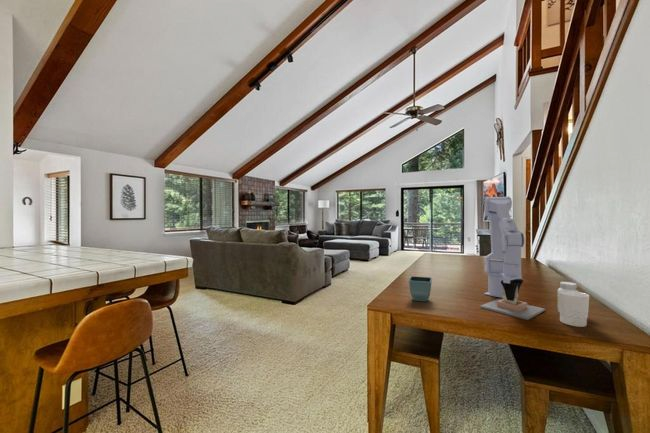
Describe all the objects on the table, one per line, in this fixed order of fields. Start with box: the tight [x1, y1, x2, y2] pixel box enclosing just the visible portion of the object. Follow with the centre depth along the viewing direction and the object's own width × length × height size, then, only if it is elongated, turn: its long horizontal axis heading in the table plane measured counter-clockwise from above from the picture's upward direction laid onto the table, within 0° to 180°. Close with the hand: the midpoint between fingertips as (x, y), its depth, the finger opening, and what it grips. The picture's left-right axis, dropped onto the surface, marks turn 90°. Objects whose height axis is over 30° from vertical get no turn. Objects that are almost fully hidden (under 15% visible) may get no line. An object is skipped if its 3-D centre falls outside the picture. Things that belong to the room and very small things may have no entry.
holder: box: [480, 298, 546, 321], centre depth 111 cm, size 16×16×3 cm
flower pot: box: [408, 275, 433, 303], centre depth 123 cm, size 9×9×9 cm
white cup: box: [557, 290, 590, 328], centre depth 97 cm, size 8×8×10 cm
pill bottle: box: [556, 281, 580, 313], centre depth 106 cm, size 6×6×11 cm
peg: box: [502, 286, 519, 305], centre depth 111 cm, size 4×4×7 cm
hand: (512, 299), depth 111 cm, fingers closed on peg, 4 cm apart
